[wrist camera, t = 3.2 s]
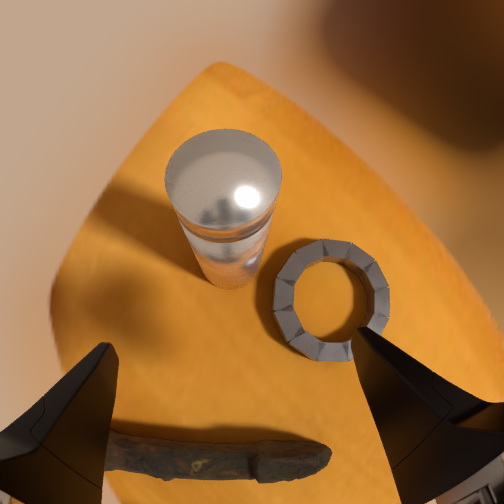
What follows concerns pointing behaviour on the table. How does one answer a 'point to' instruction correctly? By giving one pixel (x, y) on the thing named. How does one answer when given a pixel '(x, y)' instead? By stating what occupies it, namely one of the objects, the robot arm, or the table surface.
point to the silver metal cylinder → (225, 201)
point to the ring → (285, 296)
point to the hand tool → (215, 459)
